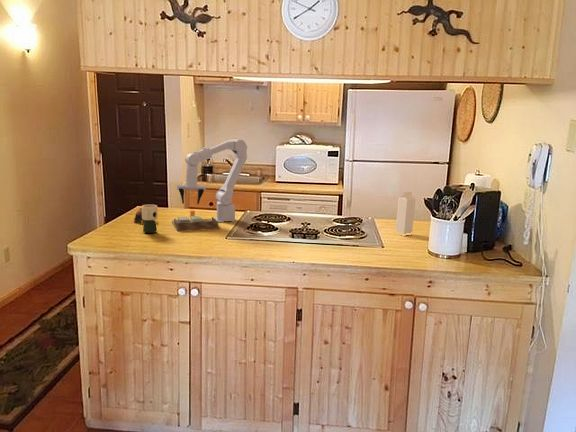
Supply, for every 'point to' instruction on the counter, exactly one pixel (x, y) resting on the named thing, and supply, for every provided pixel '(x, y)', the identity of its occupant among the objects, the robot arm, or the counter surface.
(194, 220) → the rod with orange block
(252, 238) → the counter surface
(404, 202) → the milk
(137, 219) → the dark brown lumpy figurine
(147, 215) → the character mug
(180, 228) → the lane shelf
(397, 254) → the counter surface
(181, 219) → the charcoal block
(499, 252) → the counter surface
